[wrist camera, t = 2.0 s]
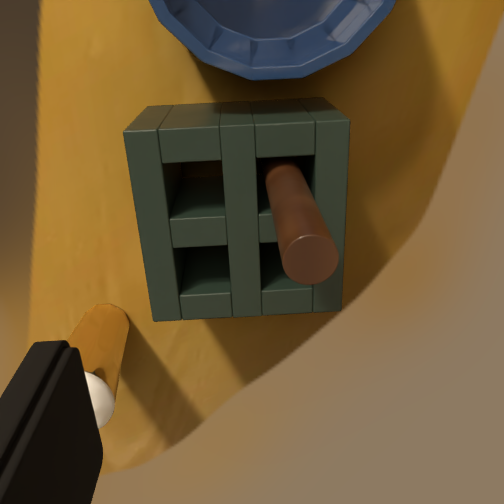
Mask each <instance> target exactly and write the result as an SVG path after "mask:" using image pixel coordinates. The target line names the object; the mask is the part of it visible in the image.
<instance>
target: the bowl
mask: <svg viewBox="0 0 504 504" xmlns="http://www.w3.org/2000/svg"><path fill="white" fill-rule="evenodd" d="M149 2H150V4H151V6H152V8H153V10H154V12H155V14H156V16H157V18H158V20H159V22H160V23H161V24H162V25H163V26H164V27H165V28H166V29H167V30H168V31H169V32H171V33H172V34H173V35H174V36H175V37H176V38H177V39H178V40H179V41H180V42H181V43H182V44H183V45H184V46H185V47H186V48H188V49H189V50H190V51H191V52H192V53H193V54H194V55H195V56H196V57H197V58H198V59H199V60H200V61H202V62H203V63H206V64H209V65H211V66H214V67H216V68H219V69H222V70H224V71H227V72H230V73H232V74H235V75H237V76H240V77H243V78H245V79H248V80H252V81H257V80H278V79H298V78H305V77H307V76H309V75H311V74H313V73H315V72H317V71H319V70H321V69H323V68H325V67H327V66H329V65H331V64H333V63H335V62H337V61H339V60H341V59H343V58H346V57H348V56H350V55H351V54H352V53H353V52H354V51H355V50H356V49H357V48H358V47H359V46H360V45H361V44H362V43H363V42H364V41H365V39H366V38H367V37H368V36H369V35H370V34H371V33H372V32H373V31H374V30H375V29H376V28H377V26H378V25H379V24H380V23H381V22H382V21H383V20H384V19H385V18H386V17H387V16H388V15H389V13H390V12H391V10H392V9H393V7H394V5H395V2H396V0H149Z"/></svg>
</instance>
